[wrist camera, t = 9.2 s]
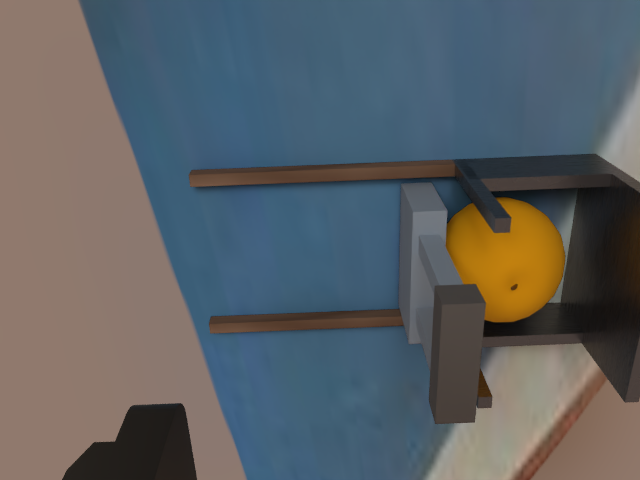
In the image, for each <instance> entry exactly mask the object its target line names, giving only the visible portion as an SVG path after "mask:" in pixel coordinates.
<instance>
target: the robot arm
mask: <svg viewBox="0 0 640 480" xmlns="http://www.w3.org/2000/svg"><path fill="white" fill-rule="evenodd" d="M62 480H197V477H196V470H195V464H194V458H193V452H192V446H191V440H190V434H189V429H188V423H187V418H186V412H185V408H184V406H183V405H182V404H181V403H177V404H152V405H133V406H131V407H130V409H129V410H128V412H127V414H126V416H125V419H124V421H123V424H122V426H121V428H120V431H119V433H118V436H117V438H116V441H115V442H94V443H93V444H92V445H91V446H90V447H89V448H88V449H87V450H86V451H85V452H84V453H83V454H82V455H81V456H80V457H79V458H78V459H77V460H76V461H75V462H74V463H73V464H72V466H71V467H69V468H68V470H67V471H66V473H65V475H64V477H63V479H62Z"/></svg>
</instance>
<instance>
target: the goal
mask: <svg viewBox="0 0 640 480" xmlns="http://www.w3.org/2000/svg"><path fill="white" fill-rule="evenodd" d="M452 161H453V162H454V163H455V178H456V179H457V181H458V182H459V183H460V185H461V186H462V188H463V189H464V191H465V192H466V194H467V195H468V196H469V198H470V199H471V201H472V202H473V204H474V205H475V206H476V208H477V209H478V211H479V212H480V214H481V215H482V217H483V218H484V219H485V221H486V222H487V224H488V225H489V227H490V228H491V229H492V231H493V232H494V233H510V227H511V217H510V215H509V214H508V213H507V212H506V210H505V209H504V208H503V207H502V206H501V204H500V203H499V202H498V201H497V199H496V198H495V197H494V196H493V194H492V193H491V192H490V191H510V190H535V189H560V188H578V193H577V200H576V206H575V213H574V219H573V226H572V232H571V239H570V245H569V252H568V258H567V265H566V271H565V278H564V284H563V291H562V297H561V303H546V304H545V305H544V306H543V307H542V308H541V309H539V310H538V311H536V312H535V313H533V314H532V315H530V316H529V317H526V318H523V319H520V320H517V321H514V322H491V321H487V320H484V329H483V340H482V347H499V346H524V345H550V344H575V343H582V344H583V345H584V347H585V348H586V350H587V351H588V352H589V354H590V355H591V356H592V358H593V359H594V361H595V362H596V363H597V365H598V366H599V367H600V369H601V370H602V372H603V373H604V374H605V376H606V377H607V379H608V380H609V381H610V382H611V384H612V385H613V387H614V388H615V389H616V391H617V392H618V393H619V395H620V396H621V398H622V399H623V401H624V402H638V401H639V398H640V182H638V181H637V180H635V179H634V178H632V177H631V176H629V175H628V174H626V173H624V172H623V171H621V170H620V169H618V168H617V167H615V166H614V165H612V164H611V163H609V162H607V161H606V160H604V159H603V158H601V157H600V156H598V155H597V154H581V155H556V156H531V157H506V158H481V159H456V160H452ZM476 405H477V408H491V406H492V395H491V392H490V390H489V388H488V385H487V383H486V380H485V378H484V376H483V373H482V371H481V369H480V372H479V383H478V394H477V404H476Z"/></svg>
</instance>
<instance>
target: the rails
mask: <svg viewBox="0 0 640 480" xmlns="http://www.w3.org/2000/svg"><path fill="white" fill-rule="evenodd" d="M448 176H455V163H454V162H453V161H452V160H431V161H406V162H382V163H357V164H332V165H307V166H282V167H257V168H232V169H207V170H191V172H190V174H189V180H190V187H199V186H224V185H249V184H274V183H299V182H324V181H349V180H373V179H398V178H423V177H448ZM383 326H404V323H403V320H402V316H401V312H400V309H388V310H363V311H337V312H312V313H287V314H262V315H237V316H212V317H211V319H210V322H209V327H210V333H233V332H258V331H283V330H308V329H333V328H358V327H383Z"/></svg>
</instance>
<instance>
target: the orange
mask: <svg viewBox="0 0 640 480" xmlns="http://www.w3.org/2000/svg"><path fill="white" fill-rule="evenodd" d="M496 199H497V201H498V202H499V203H500V204H501V206H502V207H503V208H504V209H505V210H506V212H507V213H508V214H509V215H510V217H511V227H510V233H494V232H493V231H492V229H491V228H490V227H489V225H488V224H487V222H486V221H485V219H484V218H483V217H482V215H481V214H480V212H479V211H478V209H477V208H476V206H475V205H474V204H473V203H471V204H469V205H467V206H466V207H465V208H463V209H462V210H460V211H459V212H458V213H456V214H455V215H454V216H453V217H452V219H451V220H450V221H449V222H448V224H447V227H446V245H445V247H446V249H447V251H448V253H449V255H450V257H451V259H452V261H453V264H454V266H455V268H456V270H457V272H458V274H459V276H460V278H461V280H462V282H463V284H476V285H477V287H478V289H479V291H480V293H481V295H482V296H483V298H484V300H485V302H486V308H485V319H484V320H487V321H491V322H514V321H517V320H520V319H523V318H526V317H529V316H530V315H532V314H533V313H535V312H536V311H538V310H539V309H541V308H542V307H543V306H544V305H545V304H546V303H547V302H548V301H549V300H550V299H551V298H552V297H553V296H554V294H555V292H556V290H557V288H558V286H559V284H560V282H561V280H562V277H563V272H564V265H565V252H564V247H563V242H562V238H561V235H560V233H559V232H558V230H557V229H556V227H555V226H554V225H553V223H552V222H551V221H550V219H549V218H548V217H547V216H546V215H545V214H544V213H543V212H541V211H539V210H538V209H536V208H535V207H533V206H532V205H530V204H529V203H526V202H524V201H520V200H516V199H512V198H508V197H498V198H496Z"/></svg>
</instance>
